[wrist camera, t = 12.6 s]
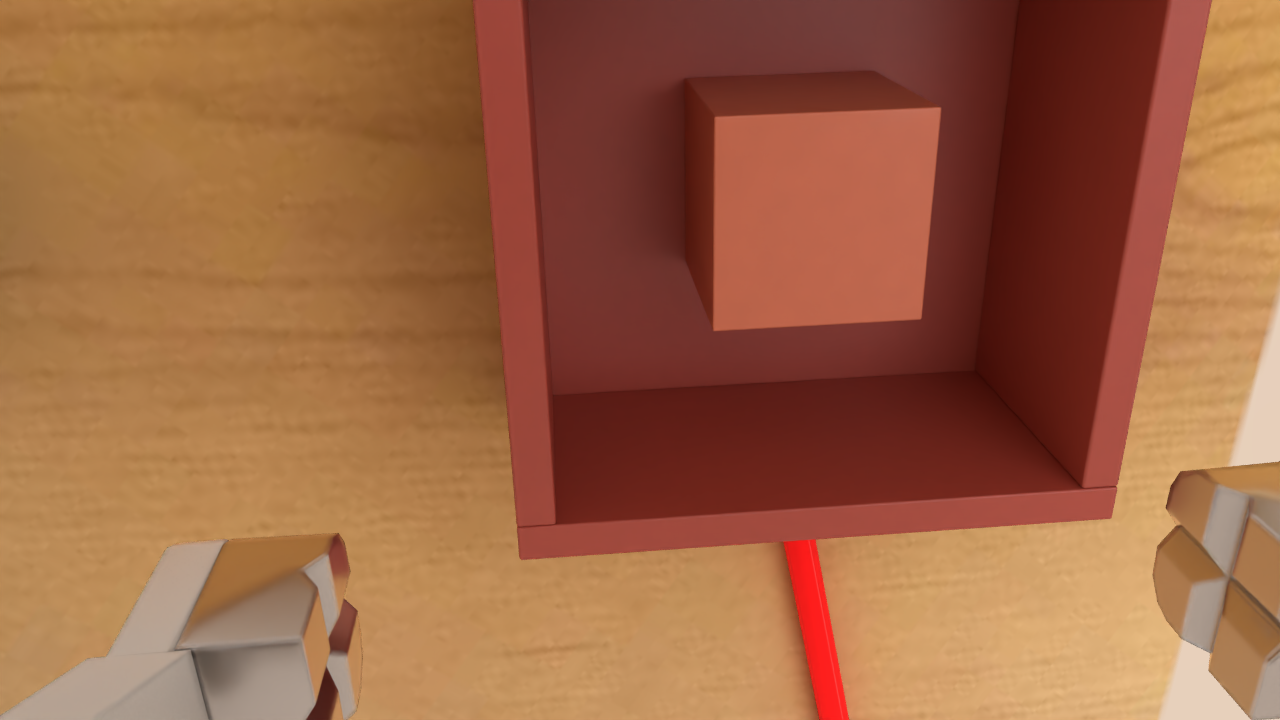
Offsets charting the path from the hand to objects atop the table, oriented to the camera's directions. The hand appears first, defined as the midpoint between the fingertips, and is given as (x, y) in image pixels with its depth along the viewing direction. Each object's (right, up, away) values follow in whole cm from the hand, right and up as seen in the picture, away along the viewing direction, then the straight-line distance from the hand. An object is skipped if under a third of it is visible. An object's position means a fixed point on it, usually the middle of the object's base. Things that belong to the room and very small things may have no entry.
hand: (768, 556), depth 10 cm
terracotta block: (+2, +6, +14) cm, 16 cm away
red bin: (+2, +7, +15) cm, 17 cm away
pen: (+5, -9, +23) cm, 25 cm away
